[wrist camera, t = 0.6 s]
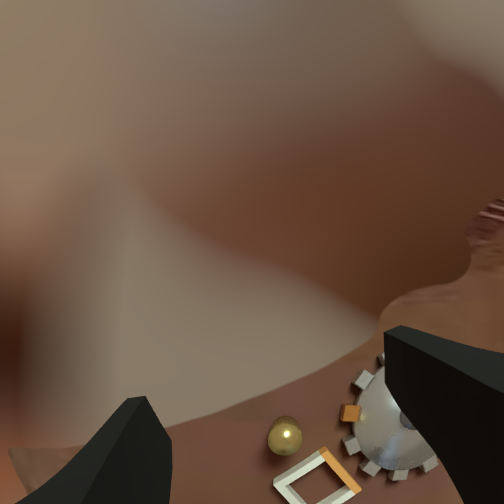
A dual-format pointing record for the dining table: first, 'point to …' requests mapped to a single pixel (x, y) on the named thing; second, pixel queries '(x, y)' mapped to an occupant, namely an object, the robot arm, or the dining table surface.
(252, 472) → the dining table surface
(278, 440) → the brass pin
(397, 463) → the sprocket
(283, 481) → the square open frame
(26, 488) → the dining table surface
